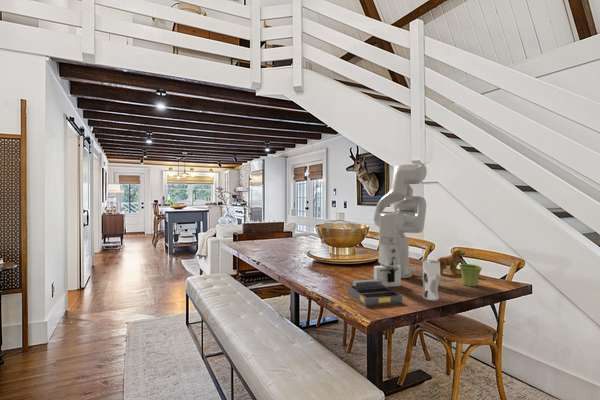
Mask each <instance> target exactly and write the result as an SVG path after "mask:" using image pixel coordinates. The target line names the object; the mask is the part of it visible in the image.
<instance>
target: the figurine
mask: <svg viewBox="0 0 600 400" xmlns="http://www.w3.org/2000/svg"><path fill="white" fill-rule="evenodd" d="M465 254H466V252H465V251H462V249H460V248H454V249H453V251H452V253H451V254H450V255H447V256H440V257H439V258H437V259H436V261H439V262H440V276H444V275H445V273H443V272H444V270H445V269H447V267H449V270H450V271H451V273H452V274H454V275H460V273H459V272H458V271H457V267H458V266H459V265H460V263H461V260H462V258H461V256H464V255H465Z"/></svg>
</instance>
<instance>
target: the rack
mask: <svg viewBox="0 0 600 400" xmlns="http://www.w3.org/2000/svg"><path fill="white" fill-rule="evenodd" d="M382 282H383V281H382V280H380V279H374V278H372V279H359V280H352V285H348V286H347V293H348V294H349V296H351V297H353V298H354V299H355V300H357V301H358V303H361V304H362V305H363V306H364V307H366V308H367V307H377V306H378V307H379V306H389V305H398V304H399V305H401V304H403V295H402V294H400V293H398V292H397V291H395V290H393V289H392V288H390V287H386V286H384V285H382Z"/></svg>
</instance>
